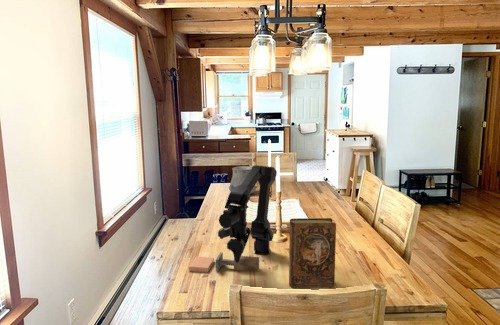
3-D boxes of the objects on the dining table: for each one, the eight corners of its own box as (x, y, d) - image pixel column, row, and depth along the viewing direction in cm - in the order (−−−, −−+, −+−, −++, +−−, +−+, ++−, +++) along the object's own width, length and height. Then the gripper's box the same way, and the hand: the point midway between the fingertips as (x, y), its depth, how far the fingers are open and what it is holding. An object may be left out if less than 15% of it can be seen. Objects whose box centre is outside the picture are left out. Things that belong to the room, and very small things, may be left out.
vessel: (248, 199, 263) (248, 171, 260) (223, 195, 275) (222, 168, 272) (263, 192, 282) (263, 166, 278) (239, 189, 293) (239, 164, 290)
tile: (214, 257, 160) (196, 256, 161) (207, 267, 150) (188, 266, 151) (214, 262, 160) (196, 261, 161) (208, 273, 150) (189, 271, 151)
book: (290, 288, 137) (290, 223, 133) (288, 281, 142) (288, 218, 138) (334, 287, 137) (336, 222, 133) (330, 280, 143) (332, 217, 139)
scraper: (260, 265, 156) (260, 254, 155) (257, 274, 148) (257, 262, 147) (220, 263, 158) (220, 252, 158) (215, 271, 151) (215, 260, 150)
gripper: (224, 213, 160) (225, 247, 163) (213, 227, 142) (214, 266, 144) (250, 214, 158) (250, 249, 161) (242, 229, 140) (242, 268, 143)
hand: (239, 257), depth 152 cm, fingers open, 9 cm apart
